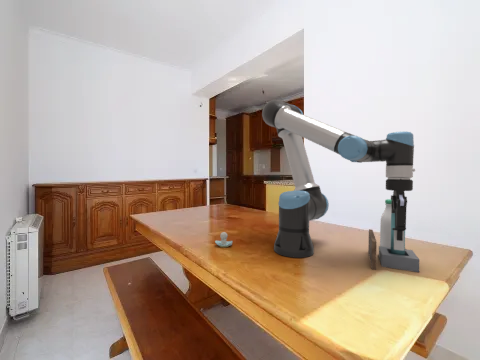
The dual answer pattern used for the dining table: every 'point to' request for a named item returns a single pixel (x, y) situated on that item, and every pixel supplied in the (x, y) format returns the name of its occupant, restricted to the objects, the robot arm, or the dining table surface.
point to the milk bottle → (386, 225)
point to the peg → (392, 251)
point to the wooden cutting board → (372, 249)
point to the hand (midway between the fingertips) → (397, 247)
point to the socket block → (398, 259)
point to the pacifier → (224, 240)
